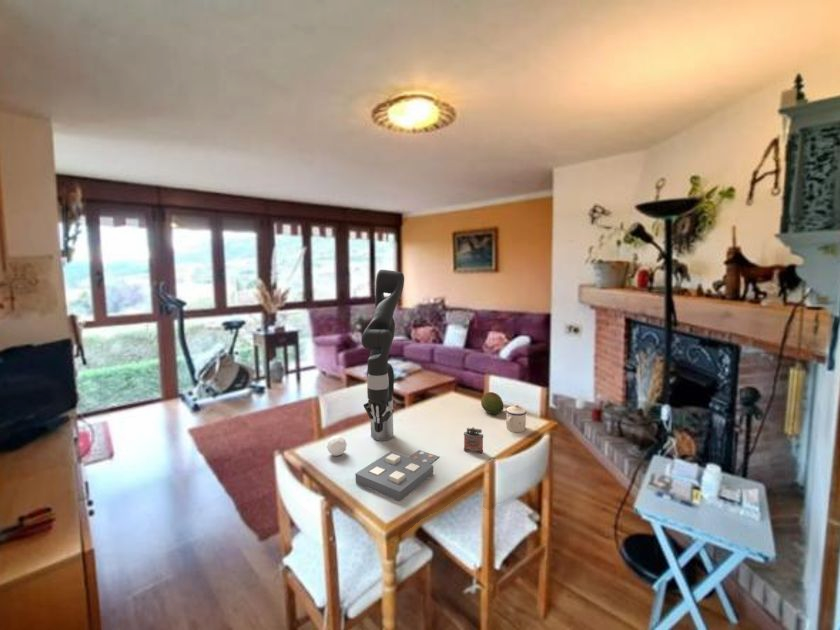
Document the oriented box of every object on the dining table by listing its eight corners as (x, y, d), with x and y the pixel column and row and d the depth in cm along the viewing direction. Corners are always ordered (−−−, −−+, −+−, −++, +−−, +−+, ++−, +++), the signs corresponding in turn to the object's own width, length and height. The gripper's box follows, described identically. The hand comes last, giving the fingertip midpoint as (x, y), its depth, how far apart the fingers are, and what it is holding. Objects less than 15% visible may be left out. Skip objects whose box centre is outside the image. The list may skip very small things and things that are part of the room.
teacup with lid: (511, 422, 192) (512, 399, 191) (529, 428, 186) (530, 404, 185) (498, 431, 183) (499, 406, 182) (516, 436, 178) (517, 411, 176)
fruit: (491, 406, 214) (491, 388, 213) (510, 413, 204) (510, 394, 203) (476, 411, 207) (476, 393, 205) (495, 419, 197) (495, 399, 196)
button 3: (369, 478, 144) (369, 471, 143) (376, 473, 147) (376, 466, 146) (378, 481, 141) (377, 474, 141) (385, 476, 145) (385, 469, 144)
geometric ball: (340, 462, 163) (341, 452, 157) (323, 454, 164) (323, 444, 158) (349, 446, 168) (350, 436, 163) (332, 438, 169) (333, 429, 164)
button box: (355, 482, 143) (355, 473, 142) (391, 459, 159) (390, 451, 159) (400, 501, 132) (399, 491, 131) (433, 474, 148) (433, 465, 147)
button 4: (388, 482, 138) (388, 475, 138) (396, 477, 142) (396, 470, 141) (398, 486, 136) (397, 479, 136) (405, 481, 139) (405, 474, 139)
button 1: (385, 464, 151) (385, 457, 150) (392, 459, 154) (392, 453, 154) (394, 467, 148) (393, 460, 148) (400, 462, 152) (400, 456, 151)
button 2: (404, 474, 146) (404, 467, 145) (411, 469, 149) (411, 463, 149) (413, 477, 143) (413, 470, 143) (420, 472, 147) (420, 466, 146)
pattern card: (407, 458, 159) (407, 457, 159) (418, 450, 166) (418, 449, 166) (428, 465, 154) (428, 464, 154) (439, 457, 160) (439, 456, 160)
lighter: (462, 451, 165) (462, 428, 163) (464, 447, 168) (465, 425, 166) (482, 454, 162) (482, 431, 160) (483, 451, 165) (484, 428, 164)
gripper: (356, 384, 142) (358, 430, 145) (385, 392, 134) (385, 440, 137) (371, 378, 148) (372, 423, 151) (399, 386, 140) (399, 432, 143)
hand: (378, 431), depth 144 cm, fingers closed
